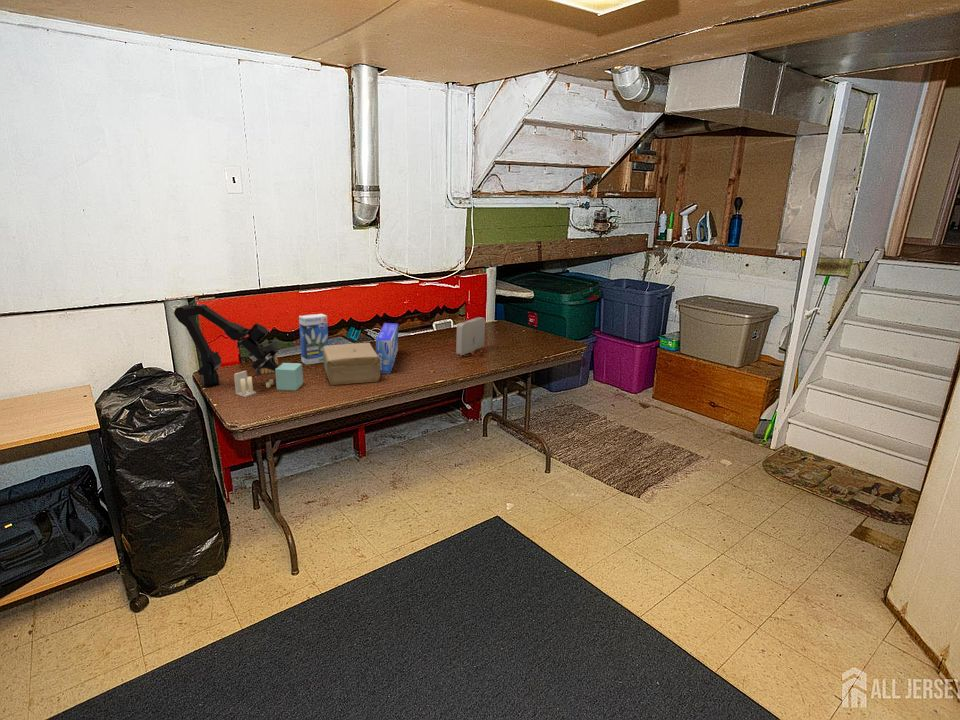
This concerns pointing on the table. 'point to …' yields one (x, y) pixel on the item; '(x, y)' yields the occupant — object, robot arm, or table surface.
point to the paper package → (351, 363)
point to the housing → (289, 376)
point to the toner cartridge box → (387, 346)
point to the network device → (470, 335)
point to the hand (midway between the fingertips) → (279, 371)
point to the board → (269, 383)
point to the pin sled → (243, 384)
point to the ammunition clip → (265, 370)
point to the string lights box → (313, 337)
